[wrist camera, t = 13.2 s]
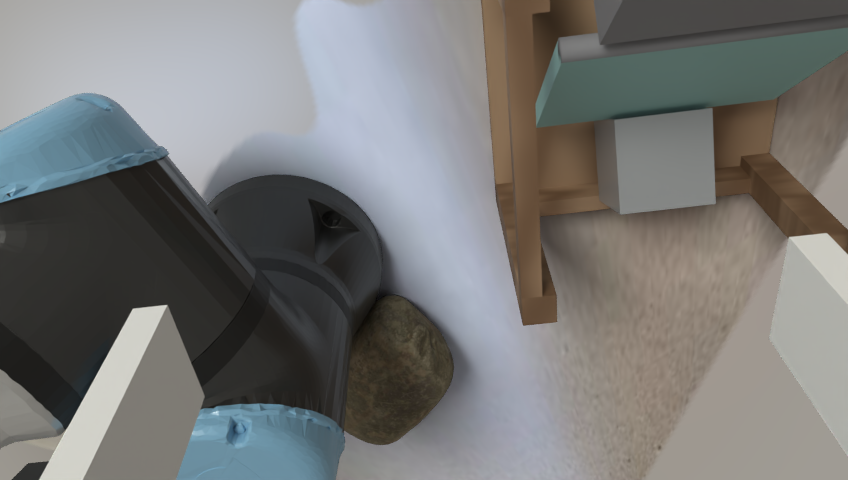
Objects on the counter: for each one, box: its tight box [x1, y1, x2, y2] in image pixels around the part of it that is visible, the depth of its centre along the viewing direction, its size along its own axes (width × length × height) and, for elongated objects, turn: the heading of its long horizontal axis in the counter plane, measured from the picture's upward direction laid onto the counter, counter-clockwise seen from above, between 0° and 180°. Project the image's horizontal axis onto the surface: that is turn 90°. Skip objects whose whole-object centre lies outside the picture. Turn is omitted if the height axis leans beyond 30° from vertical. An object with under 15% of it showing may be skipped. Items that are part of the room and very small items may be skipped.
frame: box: [481, 0, 848, 326], centre depth 41 cm, size 20×20×15 cm
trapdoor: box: [536, 0, 848, 128], centre depth 35 cm, size 15×18×4 cm
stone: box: [344, 295, 454, 445], centre depth 59 cm, size 9×14×10 cm, turn 155°
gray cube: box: [594, 108, 716, 215], centre depth 46 cm, size 6×6×6 cm
